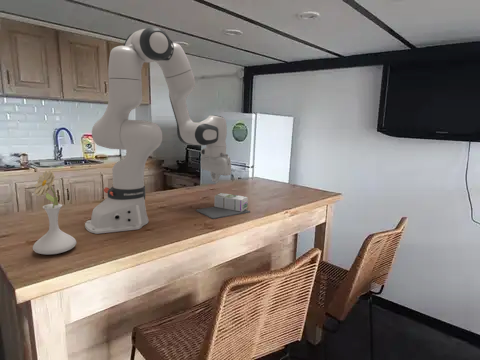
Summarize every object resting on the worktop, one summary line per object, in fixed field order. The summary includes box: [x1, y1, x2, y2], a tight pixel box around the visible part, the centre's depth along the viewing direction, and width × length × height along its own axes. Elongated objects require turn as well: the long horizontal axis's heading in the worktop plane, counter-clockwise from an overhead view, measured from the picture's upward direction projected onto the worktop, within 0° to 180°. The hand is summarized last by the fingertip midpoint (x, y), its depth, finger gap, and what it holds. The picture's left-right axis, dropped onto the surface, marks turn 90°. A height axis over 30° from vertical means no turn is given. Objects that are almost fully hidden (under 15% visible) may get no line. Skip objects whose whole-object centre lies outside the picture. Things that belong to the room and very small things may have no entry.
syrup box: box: [213, 192, 249, 212], centre depth 146 cm, size 6×6×14 cm
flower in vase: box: [32, 169, 77, 255], centre depth 93 cm, size 13×11×25 cm
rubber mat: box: [195, 206, 251, 220], centre depth 143 cm, size 20×14×1 cm
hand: (215, 182), depth 146 cm, fingers closed
